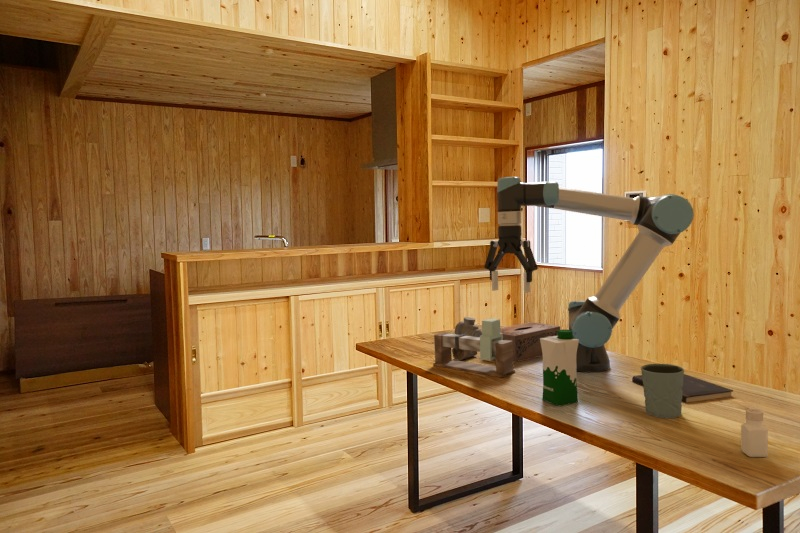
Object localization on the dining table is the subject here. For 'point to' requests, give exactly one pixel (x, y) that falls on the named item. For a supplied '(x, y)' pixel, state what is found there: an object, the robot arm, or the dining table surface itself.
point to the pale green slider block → (489, 338)
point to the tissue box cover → (528, 338)
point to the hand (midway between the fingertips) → (510, 291)
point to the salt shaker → (754, 434)
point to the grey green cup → (663, 389)
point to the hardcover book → (696, 389)
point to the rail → (476, 368)
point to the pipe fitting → (468, 328)
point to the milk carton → (560, 368)
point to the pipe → (463, 354)
